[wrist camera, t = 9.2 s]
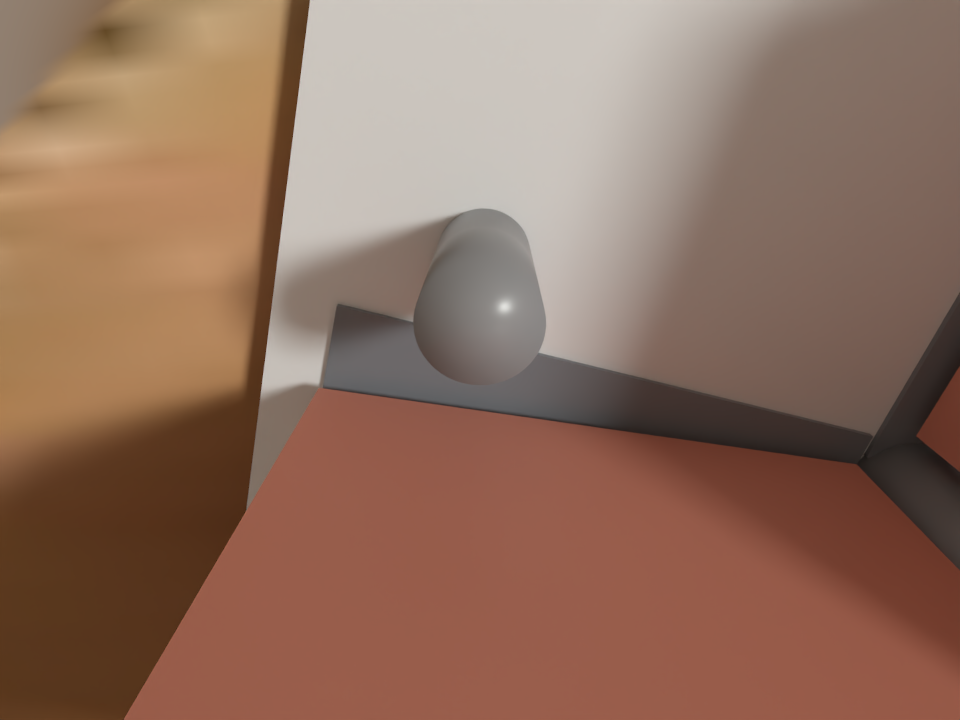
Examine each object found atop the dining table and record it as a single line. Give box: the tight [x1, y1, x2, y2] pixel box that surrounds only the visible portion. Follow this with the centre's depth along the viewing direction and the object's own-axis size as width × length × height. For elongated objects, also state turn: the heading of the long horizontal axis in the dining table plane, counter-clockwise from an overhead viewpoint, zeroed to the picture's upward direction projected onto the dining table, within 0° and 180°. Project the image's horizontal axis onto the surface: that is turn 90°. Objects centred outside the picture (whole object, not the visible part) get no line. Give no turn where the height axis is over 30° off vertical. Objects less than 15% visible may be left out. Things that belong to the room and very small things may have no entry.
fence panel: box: [124, 388, 960, 720], centre depth 7 cm, size 9×1×7 cm, turn 81°
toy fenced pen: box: [246, 0, 960, 510], centre depth 10 cm, size 21×20×4 cm
